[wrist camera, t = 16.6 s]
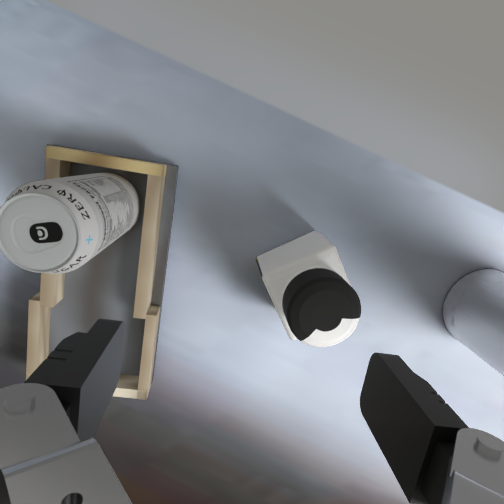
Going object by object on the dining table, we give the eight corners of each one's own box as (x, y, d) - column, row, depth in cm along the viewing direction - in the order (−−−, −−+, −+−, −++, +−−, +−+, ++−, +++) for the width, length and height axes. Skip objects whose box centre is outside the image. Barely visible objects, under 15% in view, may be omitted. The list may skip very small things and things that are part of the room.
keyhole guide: (178, 166, 37) (173, 167, 34) (152, 379, 43) (146, 399, 39) (52, 144, 36) (34, 143, 33) (42, 367, 42) (25, 387, 38)
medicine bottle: (254, 256, 40) (266, 296, 29) (315, 228, 40) (353, 258, 28) (280, 312, 42) (301, 371, 30) (339, 286, 42) (383, 336, 30)
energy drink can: (73, 174, 36) (-30, 187, 21) (137, 169, 36) (78, 177, 22) (85, 236, 37) (-3, 287, 23) (147, 230, 38) (98, 277, 23)
